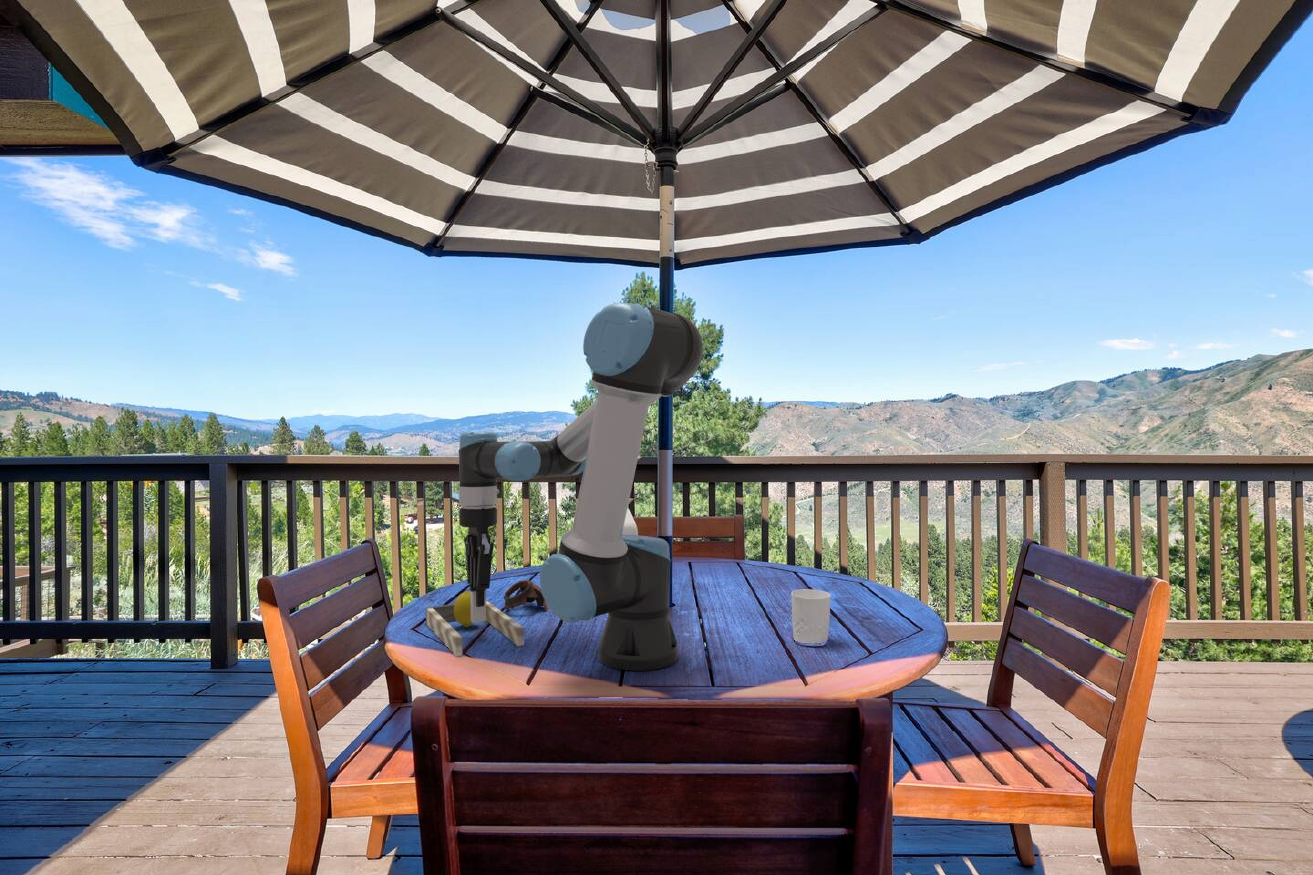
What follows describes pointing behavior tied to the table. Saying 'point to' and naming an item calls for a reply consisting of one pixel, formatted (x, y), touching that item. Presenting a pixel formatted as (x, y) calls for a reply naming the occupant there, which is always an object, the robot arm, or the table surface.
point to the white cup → (810, 615)
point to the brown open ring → (524, 595)
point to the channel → (453, 640)
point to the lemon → (463, 609)
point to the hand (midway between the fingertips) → (478, 621)
